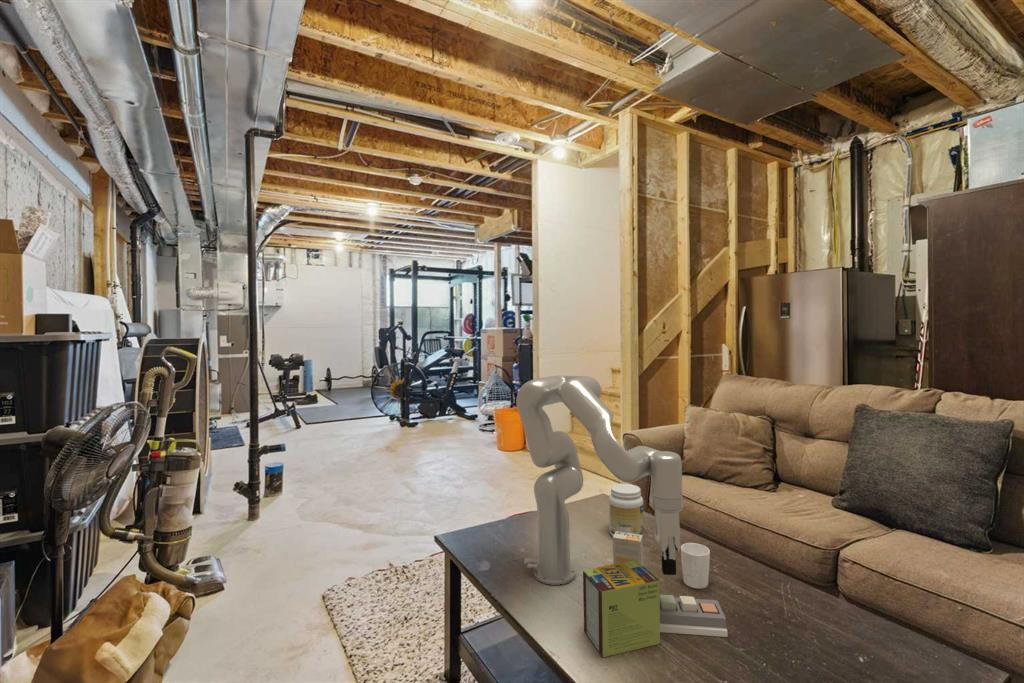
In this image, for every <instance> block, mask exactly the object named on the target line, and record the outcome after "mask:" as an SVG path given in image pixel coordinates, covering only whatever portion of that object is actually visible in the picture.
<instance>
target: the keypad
mask: <svg viewBox="0 0 1024 683" xmlns="http://www.w3.org/2000/svg"><path fill="white" fill-rule="evenodd" d="M674 599H675V602H676V611H666V610H661V606H660V633H664V634H665V633H667V634H681V635H692V636H693V635H694V636H695V635H696V636H707V637H708V636H709V637H721V638H728V631H729V630H728V629H727V617H726V616H725V613H724V612H723V610H722V607H721V605H720V604H719V601H718V600H717V599H703V598H694V599H695V601H696V604H697V612H682V610H681V607H680V597H674ZM659 602H660V596H659ZM700 603H706V604H714V605H715V607H716V609H717V611H718V614H712V613H702V611H701V609H700Z"/></svg>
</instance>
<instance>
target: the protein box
mask: <svg viewBox="0 0 1024 683" xmlns="http://www.w3.org/2000/svg"><path fill="white" fill-rule="evenodd" d="M643 565H644V564H643ZM643 565H641V564H640V563H639V562H638V561H637V560H633V561H629V562H624V563H618V564H613V563H612V564H609V565H608V564H607V565H603V566H598V567H597V566H596V567H591V568H587V569H583V570H582V584H583V585H582V586H583V588H582V590H583V594H582V595H583V596H582V597H583V631H584V633H585V634H586V636H587V637H588V639H589V640H590V641H591V643H592V645H593V646H594V647H595V648H596V651H598V653H599V654H600V656H601V657H602V658H607V657H610V656H616V655H619V654H624V653H627V652H631V651H636V650H641V649H644V648H648V647H652V646H656V645H657V646H658V645H660V644H661V632H660V602H659V597H660V579H658V578H657V577H656V576H655V575H654V574H653V573H652V572H651V571H649V570H648V569H647V568H646V567H645V566H643Z"/></svg>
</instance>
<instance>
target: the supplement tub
mask: <svg viewBox="0 0 1024 683" xmlns="http://www.w3.org/2000/svg"><path fill="white" fill-rule="evenodd" d="M610 488H611V490H610V495H609V496H608V512H609V513H608V514H609V515H608V516H609V517H608V520H609V523H608V524H609V526H608V528H609V530H608V531H609V533H610V535H611V536H612V537H613V536H614V534H615V532H616V531H619V532H626V533H632V534H639V535H643V536H644V534H645V527H644V518H645V516H644V499H643V496H642V492H641V490H642V489H641V487H639V486H638V485H636V484H631V483H616V484H613V485H612V486H611V487H610Z"/></svg>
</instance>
